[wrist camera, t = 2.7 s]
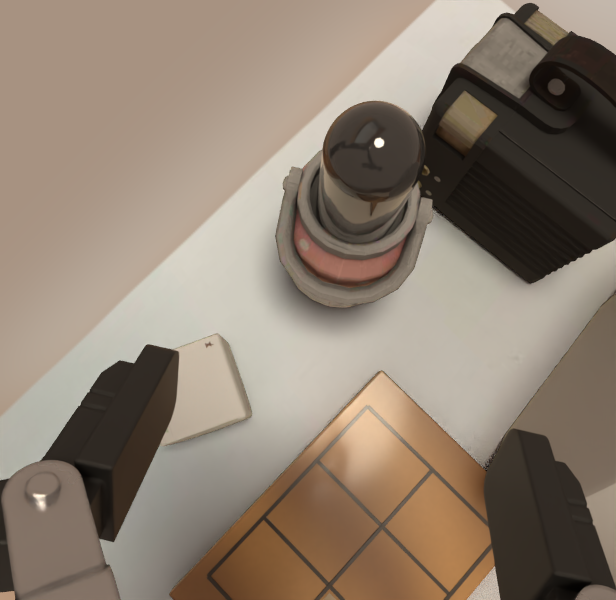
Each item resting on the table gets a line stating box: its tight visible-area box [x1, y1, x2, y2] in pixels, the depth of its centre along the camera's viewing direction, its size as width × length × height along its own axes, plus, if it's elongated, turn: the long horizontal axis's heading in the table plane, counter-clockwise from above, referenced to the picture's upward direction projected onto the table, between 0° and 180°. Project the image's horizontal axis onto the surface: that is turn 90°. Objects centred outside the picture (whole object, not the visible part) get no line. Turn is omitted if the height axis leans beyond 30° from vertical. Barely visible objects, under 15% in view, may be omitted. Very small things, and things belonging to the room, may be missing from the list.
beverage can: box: [275, 150, 433, 308], centre depth 35 cm, size 9×8×12 cm
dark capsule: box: [316, 101, 426, 244], centre depth 26 cm, size 4×4×8 cm
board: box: [169, 371, 495, 600], centre depth 37 cm, size 20×14×1 cm
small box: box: [160, 334, 252, 446], centre depth 37 cm, size 6×6×5 cm
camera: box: [417, 3, 616, 283], centre depth 36 cm, size 11×14×15 cm
